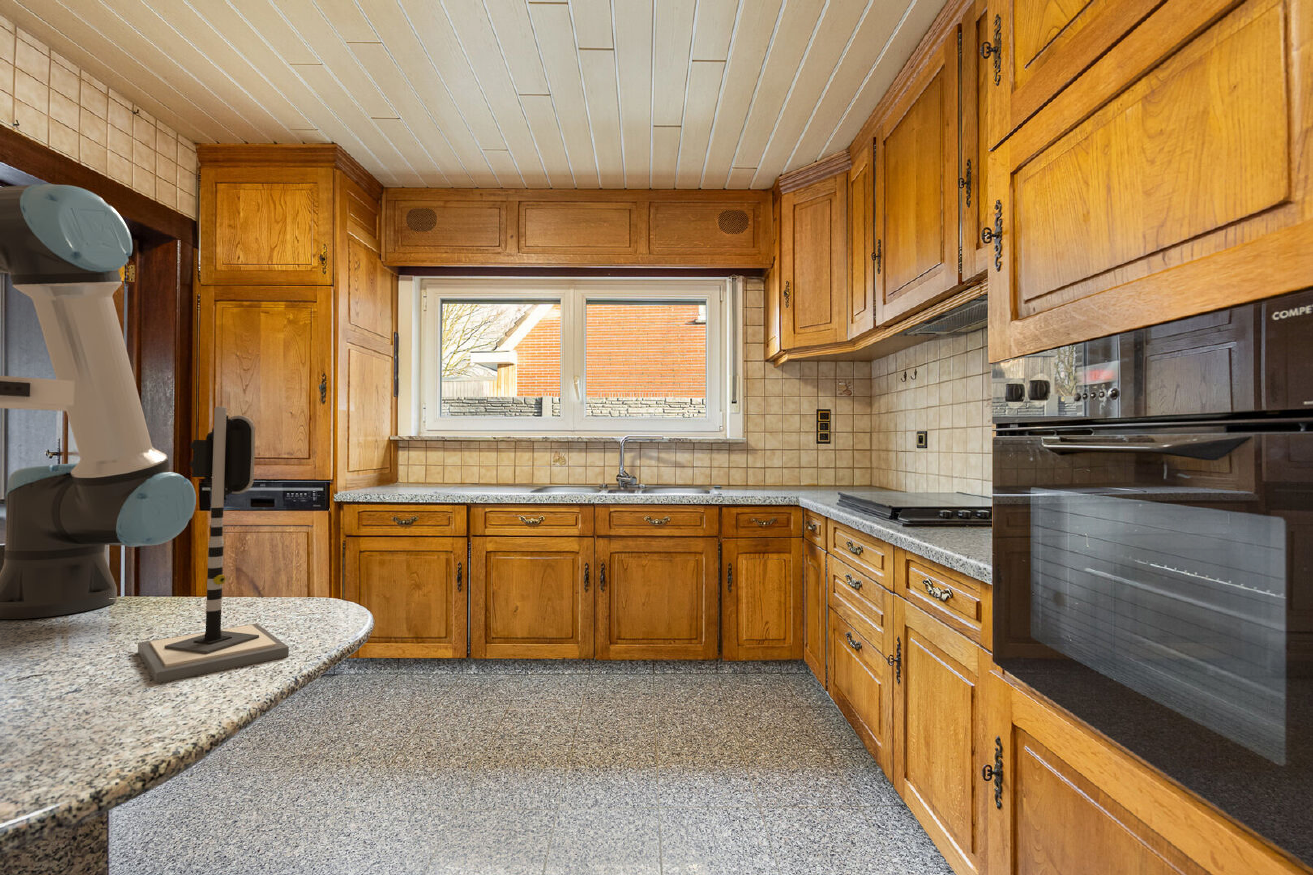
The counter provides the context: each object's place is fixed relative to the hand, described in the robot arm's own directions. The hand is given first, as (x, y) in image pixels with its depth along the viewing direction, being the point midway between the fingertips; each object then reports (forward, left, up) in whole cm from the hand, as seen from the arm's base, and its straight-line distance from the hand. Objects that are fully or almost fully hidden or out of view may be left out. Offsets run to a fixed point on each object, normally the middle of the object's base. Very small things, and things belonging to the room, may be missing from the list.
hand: (70, 397), depth 71 cm
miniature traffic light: (+5, +14, -31) cm, 34 cm away
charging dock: (+5, +14, -32) cm, 35 cm away
